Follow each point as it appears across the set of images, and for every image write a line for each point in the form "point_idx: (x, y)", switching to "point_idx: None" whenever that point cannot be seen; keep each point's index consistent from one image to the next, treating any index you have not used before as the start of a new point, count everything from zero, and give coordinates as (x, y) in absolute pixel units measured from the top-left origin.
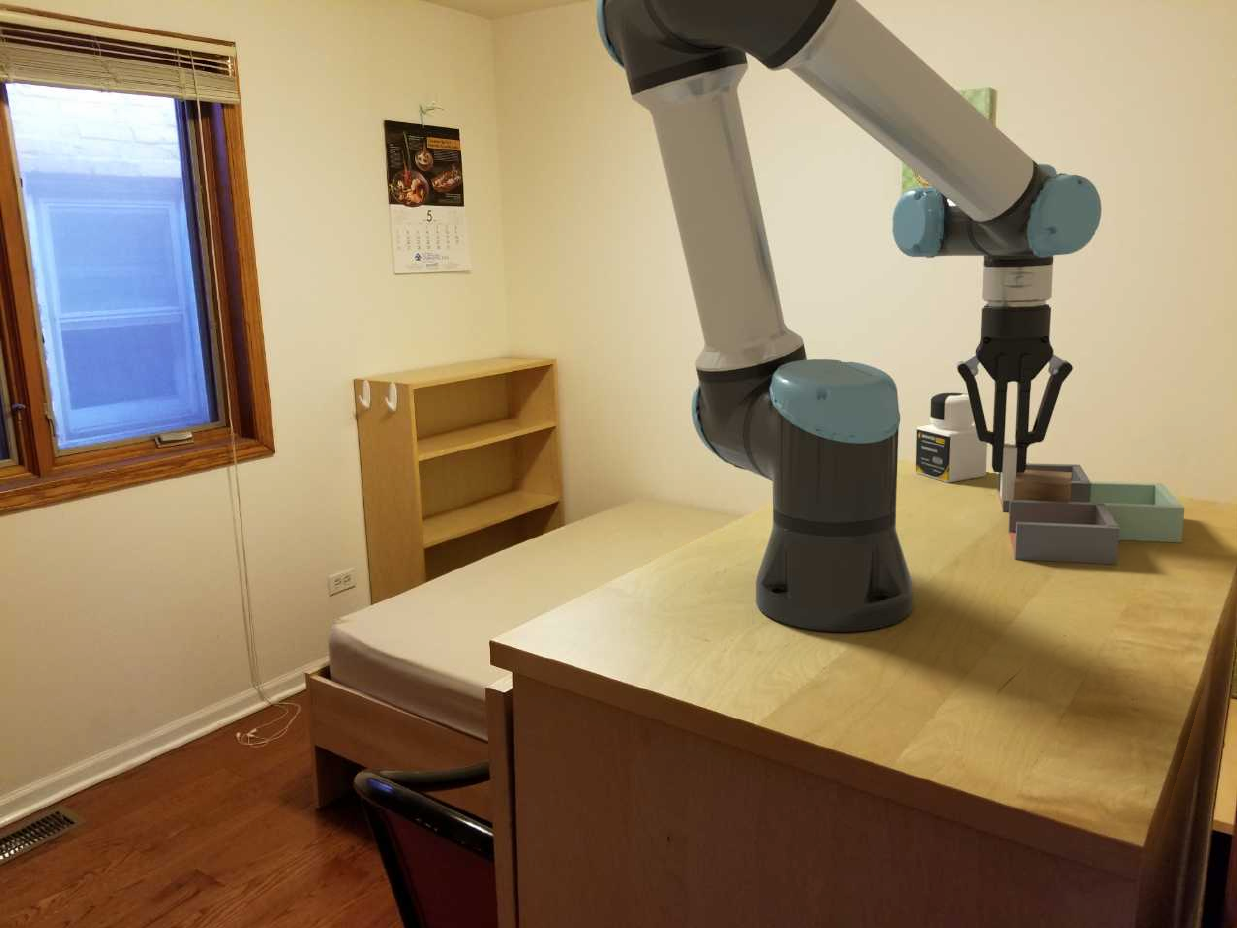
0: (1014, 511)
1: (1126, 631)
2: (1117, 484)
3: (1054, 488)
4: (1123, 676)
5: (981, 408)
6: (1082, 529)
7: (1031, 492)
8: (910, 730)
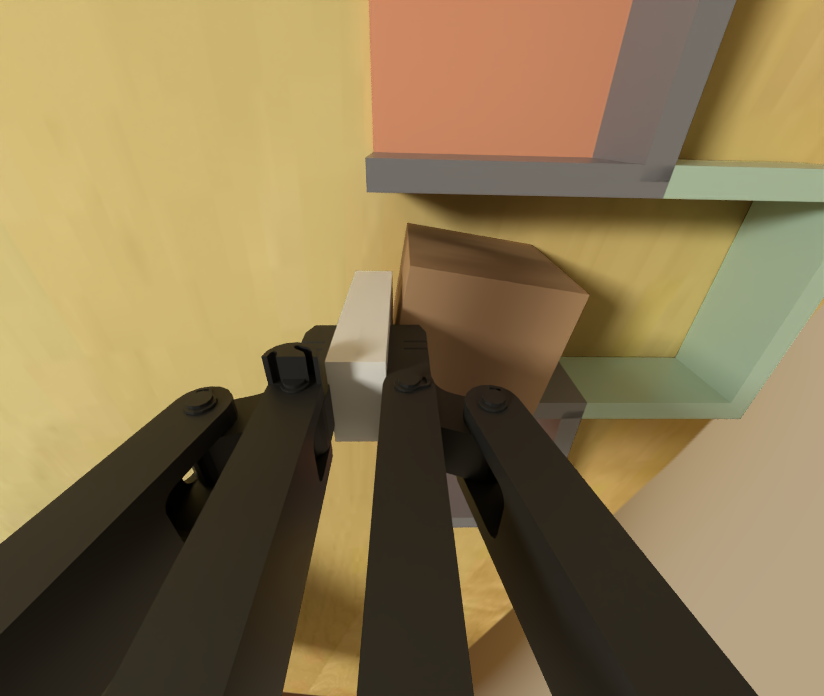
0: None
1: (465, 596)
2: (745, 199)
3: None
4: None
5: (117, 658)
6: None
7: None
8: (311, 680)
